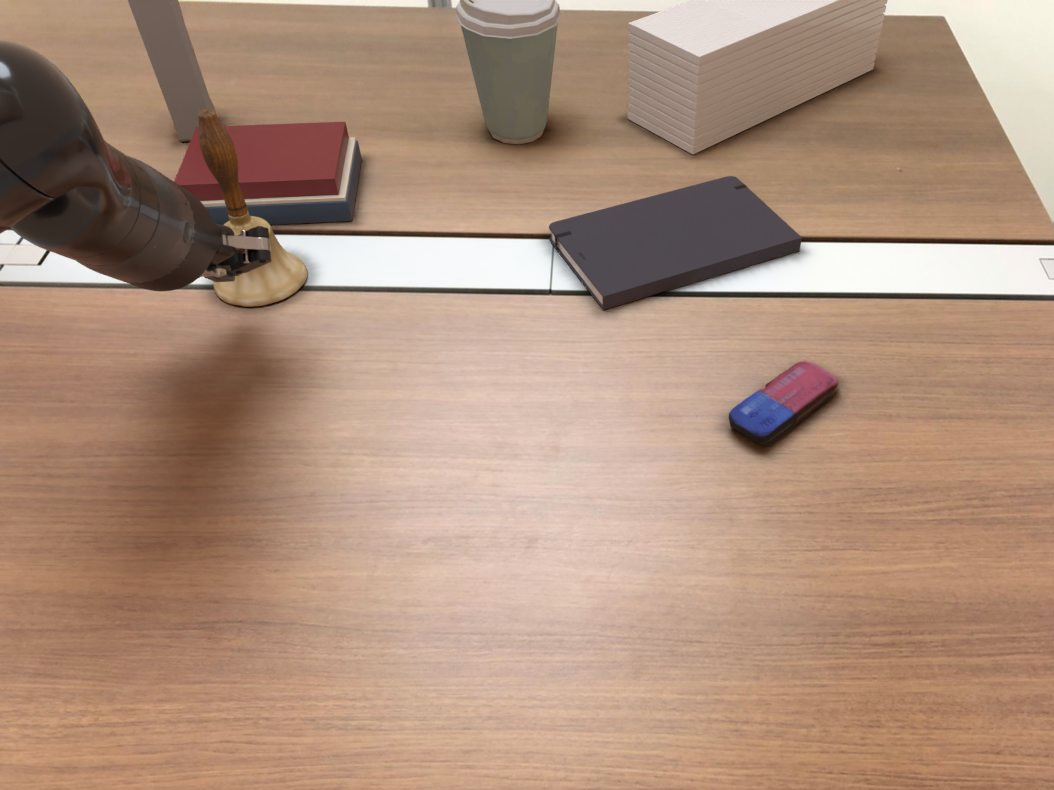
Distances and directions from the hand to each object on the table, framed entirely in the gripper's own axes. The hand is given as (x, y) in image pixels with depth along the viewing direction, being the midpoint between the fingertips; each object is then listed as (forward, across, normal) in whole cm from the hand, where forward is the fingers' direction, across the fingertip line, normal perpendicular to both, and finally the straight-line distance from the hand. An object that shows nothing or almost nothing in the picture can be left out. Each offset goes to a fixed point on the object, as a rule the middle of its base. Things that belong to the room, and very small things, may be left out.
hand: (224, 269), depth 77 cm
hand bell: (+8, 0, 0) cm, 8 cm away
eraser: (-7, -45, +15) cm, 48 cm away
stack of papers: (+31, -54, -23) cm, 66 cm away
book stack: (+19, 0, -11) cm, 22 cm away
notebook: (+10, -39, -2) cm, 40 cm away
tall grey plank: (+29, +10, -21) cm, 37 cm away
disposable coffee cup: (+26, -25, -18) cm, 41 cm away
